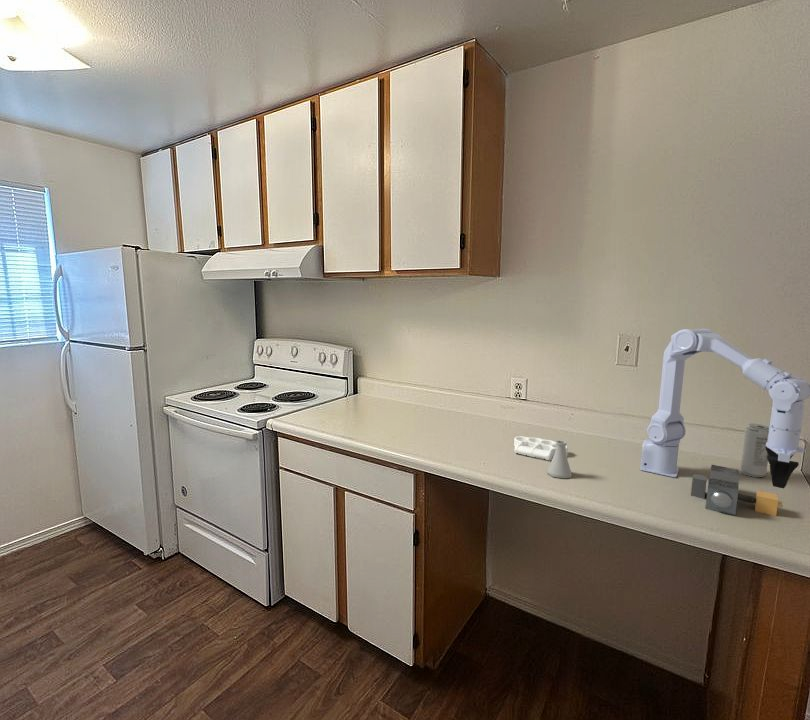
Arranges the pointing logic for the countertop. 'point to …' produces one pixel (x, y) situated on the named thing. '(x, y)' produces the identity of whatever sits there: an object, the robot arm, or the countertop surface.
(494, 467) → the countertop surface
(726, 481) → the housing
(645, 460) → the robot arm
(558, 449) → the flask
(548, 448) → the white egg tray
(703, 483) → the bar with block ends
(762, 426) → the energy drink can
